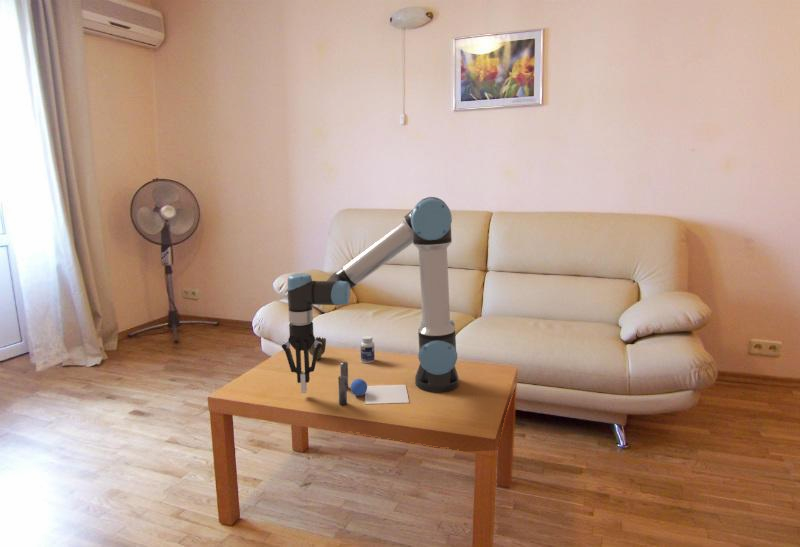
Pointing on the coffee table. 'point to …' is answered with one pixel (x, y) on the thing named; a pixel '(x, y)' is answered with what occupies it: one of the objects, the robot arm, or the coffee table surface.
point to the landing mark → (386, 394)
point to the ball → (358, 387)
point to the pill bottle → (367, 349)
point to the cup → (321, 350)
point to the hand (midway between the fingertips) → (303, 391)
